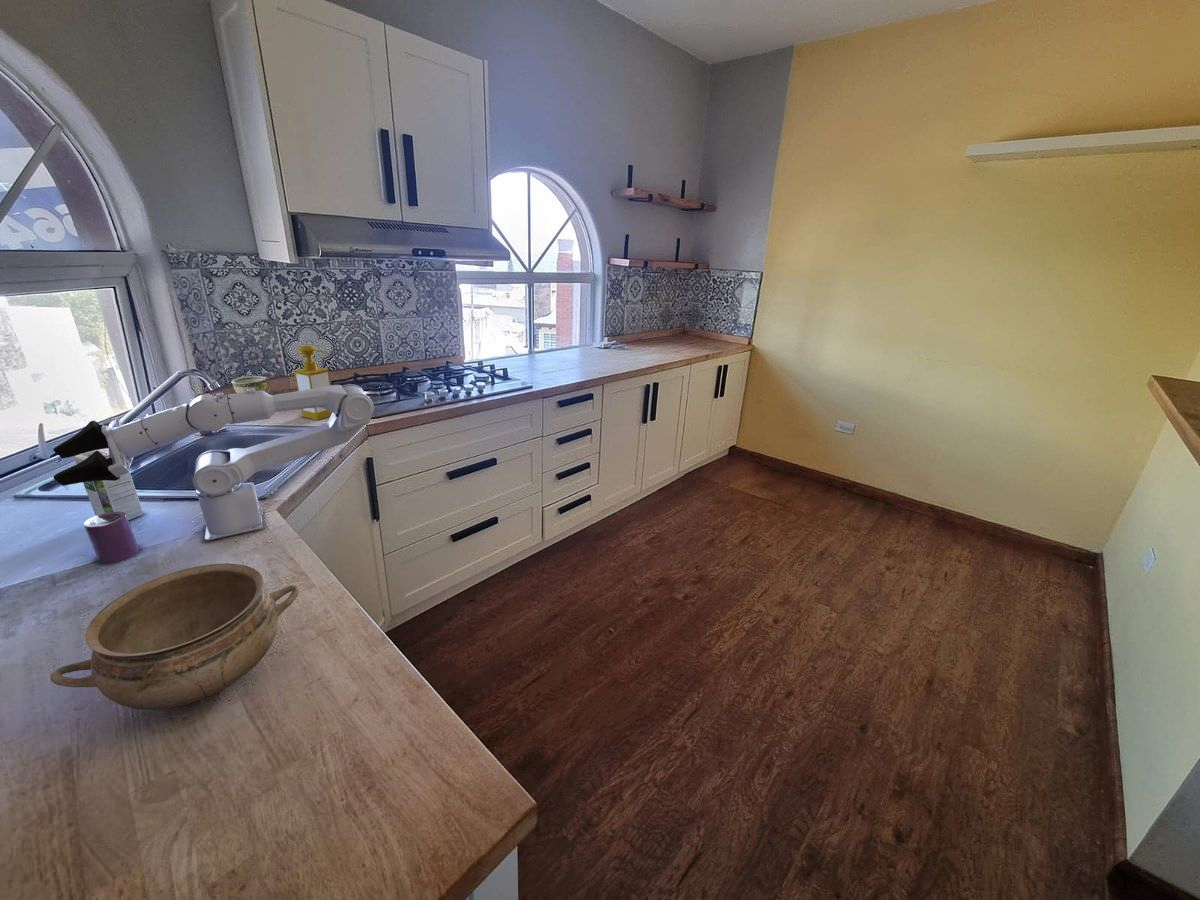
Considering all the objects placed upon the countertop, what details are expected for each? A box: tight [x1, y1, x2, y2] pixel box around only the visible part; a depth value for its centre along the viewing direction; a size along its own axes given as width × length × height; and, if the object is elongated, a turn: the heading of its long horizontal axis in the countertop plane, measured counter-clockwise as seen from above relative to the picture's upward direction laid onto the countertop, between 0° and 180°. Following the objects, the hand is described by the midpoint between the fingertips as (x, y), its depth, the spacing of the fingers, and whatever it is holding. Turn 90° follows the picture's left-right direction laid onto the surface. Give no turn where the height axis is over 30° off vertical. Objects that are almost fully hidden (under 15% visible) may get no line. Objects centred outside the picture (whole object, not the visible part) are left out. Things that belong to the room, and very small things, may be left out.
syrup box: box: [73, 448, 144, 521], centre depth 102 cm, size 6×6×14 cm
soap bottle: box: [293, 344, 332, 421], centre depth 164 cm, size 7×13×24 cm, turn 65°
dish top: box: [83, 512, 131, 539], centre depth 90 cm, size 6×6×2 cm
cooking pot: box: [50, 562, 300, 711], centre depth 65 cm, size 25×19×12 cm
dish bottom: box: [93, 537, 140, 564], centre depth 92 cm, size 6×6×2 cm
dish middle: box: [88, 525, 136, 551], centre depth 91 cm, size 6×6×2 cm
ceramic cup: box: [230, 375, 272, 394], centre depth 173 cm, size 13×10×10 cm
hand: (58, 466), depth 85 cm, fingers open, 7 cm apart
